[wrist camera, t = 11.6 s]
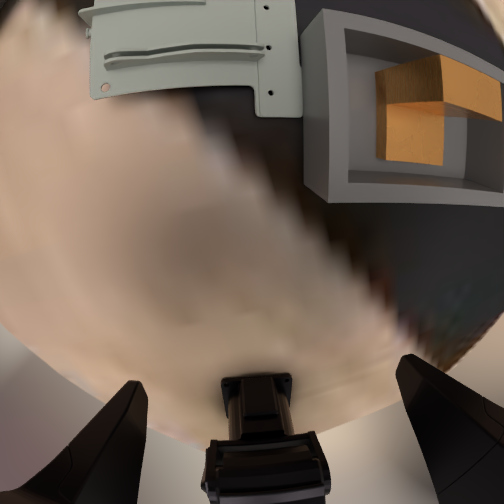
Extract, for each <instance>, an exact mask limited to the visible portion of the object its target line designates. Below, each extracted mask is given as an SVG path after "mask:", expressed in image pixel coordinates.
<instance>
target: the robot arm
mask: <svg viewBox="0 0 504 504" xmlns="http://www.w3.org/2000/svg"><path fill="white" fill-rule="evenodd" d="M396 379H397V382H398V386H399V389H400V392H401V396H402V399H403V403H404V406H405V409H406V412H407V415H408V417H409V419H410V422H411V425H412V427H413V430H414V432H415V435H416V437H417V440H418V443H419V445H420V448H421V451H422V453H423V456H424V459H425V461H426V464H427V467H428V470H429V473H430V476H431V479H432V482H433V485H434V488H435V491H436V494H437V498H438V501H439V504H504V408H502V407H500V406H499V405H497V404H495V403H493V402H491V401H490V400H488V399H486V398H485V397H482V396H481V395H480V394H478V393H476V392H475V391H473V390H472V389H470V388H468V387H466V386H465V385H463V384H462V383H460V382H458V381H457V380H455V379H453V378H452V377H450V376H448V375H447V374H445V373H444V372H442V371H440V370H439V369H437V368H435V367H434V366H432V365H430V364H429V363H427V362H425V361H424V360H422V359H421V358H419V357H417V356H416V355H414V354H408V355H404V356H402V357H401V359H400V362H399V364H398V367H397V369H396ZM226 383H228V384H226ZM221 388H222V394H223V399H224V405H225V410H226V416H227V418H228V419H229V440H223V441H217V440H211V442H210V447H208V448H207V449H206V462H205V469H204V472H203V477H202V480H201V489H202V490H203V491H204V492H206V493H207V496H208V498H209V501H210V504H325V495H328V494H329V493H330V490H331V476H330V470H329V466H328V463H327V460H326V458H325V455H324V453H323V451H322V448H321V446H320V443H319V441H318V439H317V436H316V434H315V431H309V432H308V433H303V434H296V435H295V434H294V429H293V424H292V420H291V415H290V410H289V407H290V398H291V388H292V377H291V375H290V374H280V375H270V376H258V377H244V378H226V379H223V380H222V381H221ZM147 411H148V397H147V394H146V392H145V390H144V387H143V385H142V383H141V382H140V381H134V380H130V381H128V382H127V383H126V384H125V385H124V386H123V387H122V388H121V389H120V390H119V391H118V392H117V393H116V394H115V395H114V396H113V397H112V398H111V400H110V401H109V402H108V403H107V404H106V405H105V406H104V407H103V408H102V409H101V410H100V411H99V412H98V413H97V414H96V416H95V417H94V418H93V419H92V420H91V421H90V422H89V423H88V424H87V425H86V426H85V427H84V428H83V429H82V430H81V431H80V432H79V433H78V434H77V436H76V437H75V438H74V439H73V440H72V441H71V442H70V443H69V446H66V447H65V448H64V449H63V450H62V451H61V452H60V453H59V454H58V455H57V456H56V457H55V458H54V459H53V460H52V461H51V462H50V463H49V464H48V465H47V466H46V467H44V468H43V469H42V470H41V471H39V472H38V473H37V474H36V475H35V476H33V477H32V478H31V479H30V480H28V481H27V482H26V483H25V484H23V485H22V486H21V487H19V488H17V489H14V490H10V491H3V492H0V504H137V498H138V491H139V483H140V476H141V468H142V462H143V456H144V449H145V443H146V429H147Z"/></svg>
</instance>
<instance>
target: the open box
mask: <svg viewBox="0 0 504 504" xmlns="http://www.w3.org/2000/svg"><path fill="white" fill-rule="evenodd" d="M300 52H301V71H302V95H303V139H304V185H305V186H307V187H308V188H309V189H311V190H312V191H313V192H315V193H316V194H317V195H319V196H320V197H321V198H322V199H324V200H325V201H326V202H328V203H434V204H460V205H480V206H496V207H504V71H502V70H500V69H499V68H497V67H495V66H493V65H492V64H490V63H488V62H486V61H484V60H482V59H481V58H479V57H477V56H475V55H473V54H471V53H469V52H467V51H464V50H462V49H460V48H458V47H456V46H453V45H451V44H449V43H446V42H444V41H442V40H439V39H437V38H434V37H432V36H429V35H426V34H423V33H421V32H418V31H415V30H412V29H409V28H406V27H403V26H399V25H396V24H393V23H389V22H386V21H382V20H378V19H374V18H370V17H366V16H361V15H356V14H352V13H346V12H341V11H335V10H329V9H322V10H321V11H320V12H319V13H318V15H317V16H316V17H315V18H314V19H313V21H312V22H311V23H310V24H309V25H308V27H307V28H306V29H305V30H304V32H303V33H302V34H301V35H300ZM439 54H440V55H443V56H446V57H448V58H451V59H453V60H455V61H458V62H460V63H462V64H465V65H467V66H469V67H471V68H474V69H476V70H478V71H480V72H482V73H484V74H486V75H488V76H490V77H492V78H494V79H496V80H497V81H499V82H500V87H501V102H502V122H499V121H491V120H483V119H473V118H461V117H445V116H444V150H443V166H439V165H431V164H423V163H413V162H403V161H391V160H384V159H380V158H376V84H375V72H377V71H380V70H383V69H386V68H390V67H393V66H396V65H400V64H403V63H407V62H411V61H415V60H418V59H422V58H426V57H431V56H435V55H439Z"/></svg>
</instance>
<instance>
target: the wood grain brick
mask: <svg viewBox="0 0 504 504" xmlns="http://www.w3.org/2000/svg"><path fill="white" fill-rule="evenodd" d="M375 84H376V158H380V159H384V160H391V161H403V162H413V163H423V164H431V165H439V166H443V150H444V116H445V117H461V118H473V119H483V120H491V121H499V122H502V102H501V87H500V82H499V81H497V80H496V79H494V78H492V77H490V76H488V75H486V74H484V73H482V72H480V71H478V70H476V69H474V68H471V67H469V66H467V65H465V64H462V63H460V62H458V61H455V60H453V59H451V58H448V57H446V56H443V55H440V54H439V55H435V56H431V57H426V58H422V59H418V60H415V61H411V62H407V63H403V64H400V65H396V66H393V67H390V68H386V69H383V70H380V71H377V72H375Z"/></svg>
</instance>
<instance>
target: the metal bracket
mask: <svg viewBox="0 0 504 504" xmlns="http://www.w3.org/2000/svg"><path fill="white" fill-rule="evenodd" d="M264 6H266V7H268V10H265V9H264ZM78 15H79V16H80V17H81V18H82V19H83V20H84V21H85V22H86V23H87V24H88V25H89V26H90V27H91V29H89V28H87V29H86V38H87V39H89V37H91V46H90V96H91V98H92V99H95V100H97V99H102V98H107V97H113V96H118V95H124V94H131V93H137V92H145V91H153V90H161V89H172V88H183V87H199V86H251V87H252V88H253V89H254V96H255V113H256V115H257V116H258V117H290V118H299V117H302V115H303V95H302V71H301V67H300V64H299V50H298V35H297V22H296V11H295V0H95V2H94V7H90V8H85V9H81V10H79V12H78ZM266 46H270V48H271V49H270V50H267V49H266ZM104 84H109V85H110V89H109V90H108V91H107V92H103V91H102V90H101V88H102V86H103V85H104ZM269 90H271V91H272V92H273V95H272V96H270V95H269V94H268V91H269Z"/></svg>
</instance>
